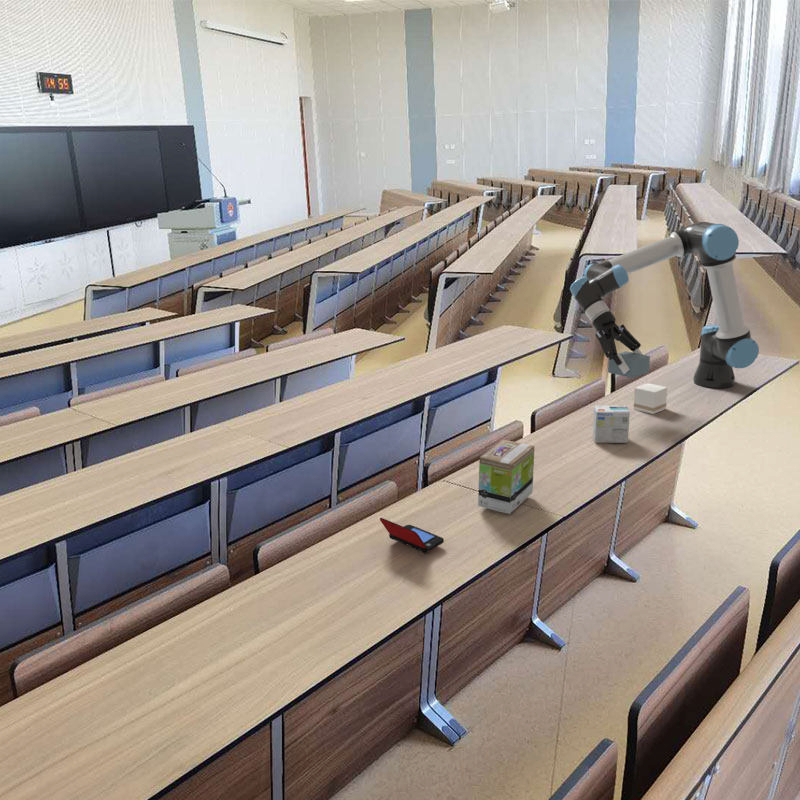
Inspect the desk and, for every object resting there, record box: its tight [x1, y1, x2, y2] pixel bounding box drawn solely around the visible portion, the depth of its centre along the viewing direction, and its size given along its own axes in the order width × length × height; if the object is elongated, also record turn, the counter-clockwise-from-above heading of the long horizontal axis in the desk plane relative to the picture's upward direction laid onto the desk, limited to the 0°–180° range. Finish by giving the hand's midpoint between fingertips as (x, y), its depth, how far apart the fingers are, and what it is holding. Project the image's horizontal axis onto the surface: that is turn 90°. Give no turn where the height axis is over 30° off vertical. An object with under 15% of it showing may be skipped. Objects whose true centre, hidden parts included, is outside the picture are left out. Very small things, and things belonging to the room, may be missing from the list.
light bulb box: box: [592, 404, 631, 444], centre depth 252 cm, size 11×7×11 cm, turn 84°
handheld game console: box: [379, 517, 445, 554], centre depth 192 cm, size 12×11×7 cm
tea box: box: [477, 439, 535, 515], centre depth 211 cm, size 15×10×15 cm
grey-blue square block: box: [607, 351, 651, 379], centre depth 267 cm, size 10×10×6 cm
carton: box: [633, 382, 668, 415], centre depth 279 cm, size 8×8×8 cm
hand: (636, 368), depth 265 cm, fingers closed on grey-blue square block, 10 cm apart
